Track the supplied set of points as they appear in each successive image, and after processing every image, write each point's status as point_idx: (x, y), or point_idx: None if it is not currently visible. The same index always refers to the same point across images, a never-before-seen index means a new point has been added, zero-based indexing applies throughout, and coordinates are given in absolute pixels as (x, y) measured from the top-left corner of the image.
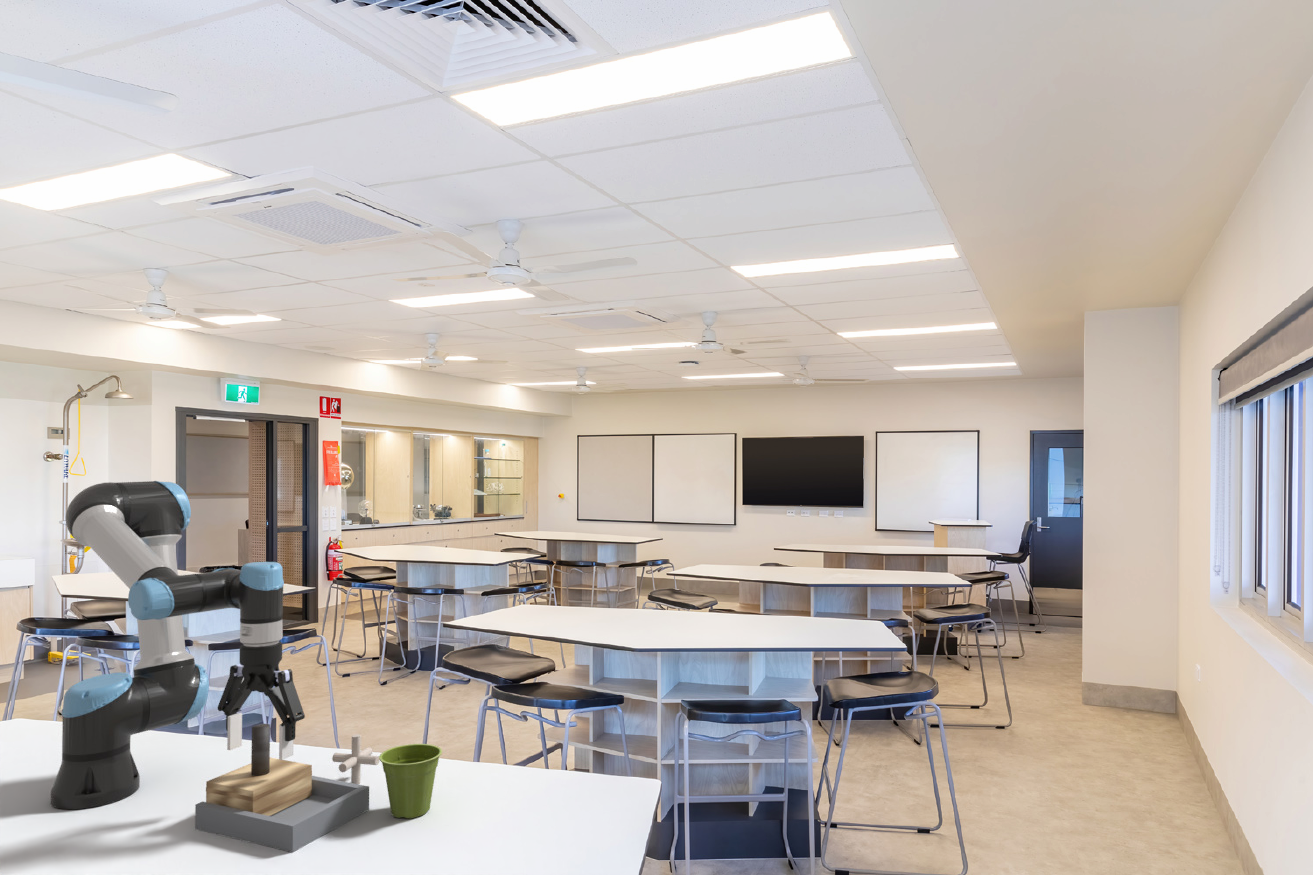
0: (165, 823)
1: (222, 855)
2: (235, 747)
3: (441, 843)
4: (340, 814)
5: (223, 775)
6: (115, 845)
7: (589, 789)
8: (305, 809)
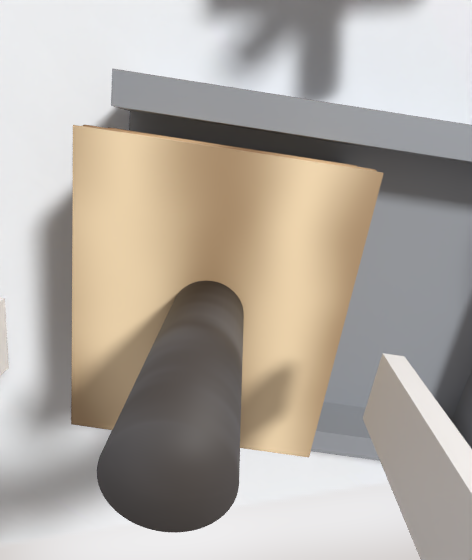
0: (20, 369)
1: (297, 464)
2: (3, 337)
3: None
4: None
5: (81, 367)
6: (25, 473)
7: None
8: (383, 260)
